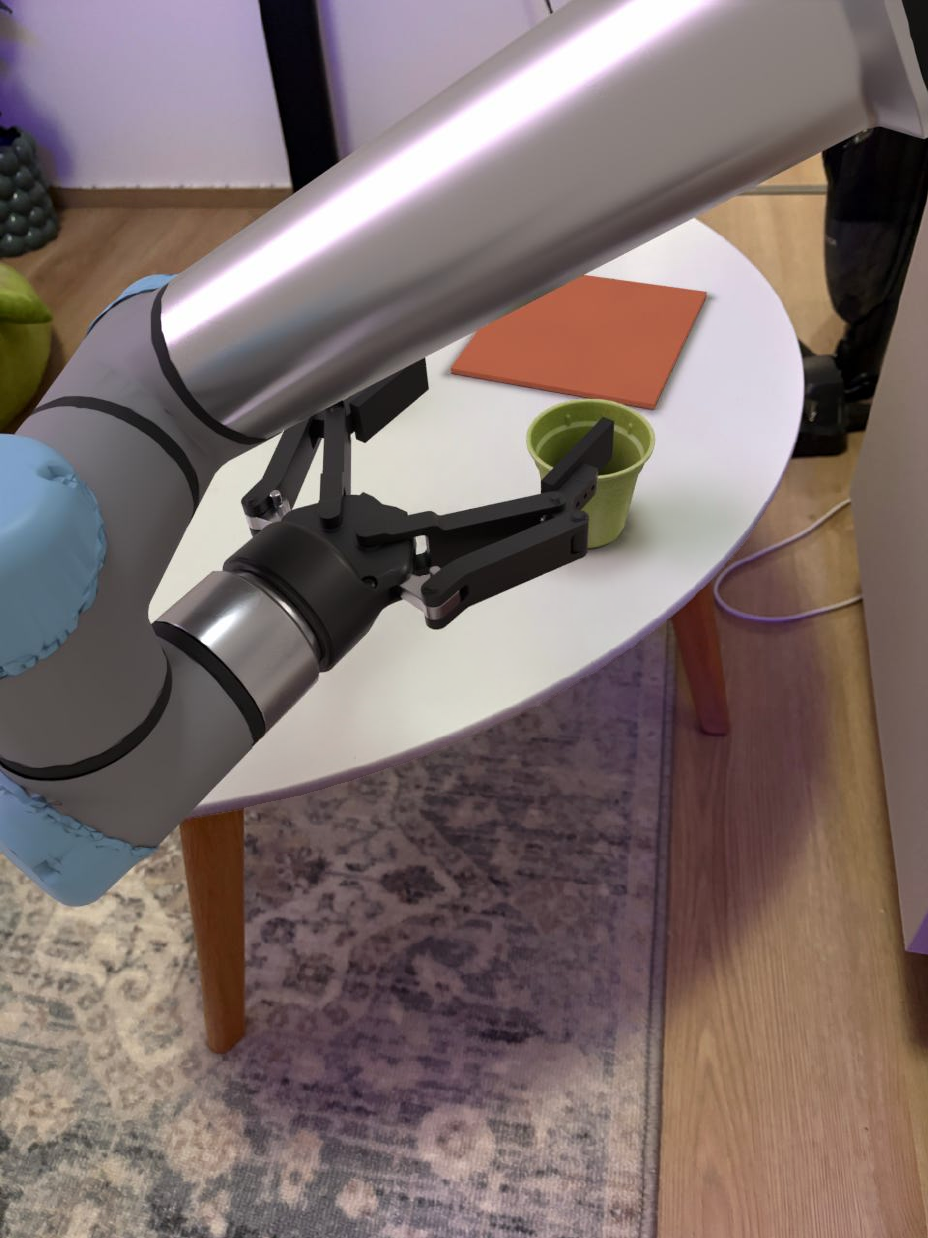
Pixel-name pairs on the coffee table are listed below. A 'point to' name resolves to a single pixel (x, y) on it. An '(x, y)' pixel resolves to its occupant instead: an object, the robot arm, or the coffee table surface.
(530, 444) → the plant pot
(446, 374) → the coffee table surface
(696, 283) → the coffee table surface
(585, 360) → the terracotta mat
